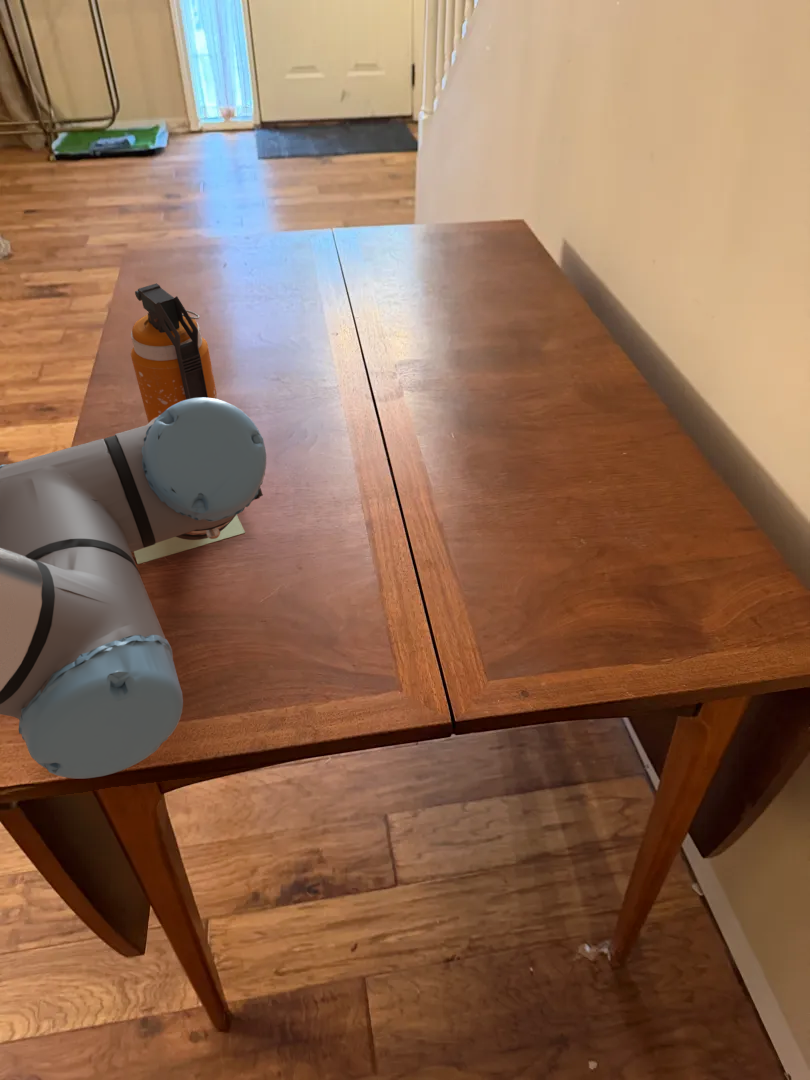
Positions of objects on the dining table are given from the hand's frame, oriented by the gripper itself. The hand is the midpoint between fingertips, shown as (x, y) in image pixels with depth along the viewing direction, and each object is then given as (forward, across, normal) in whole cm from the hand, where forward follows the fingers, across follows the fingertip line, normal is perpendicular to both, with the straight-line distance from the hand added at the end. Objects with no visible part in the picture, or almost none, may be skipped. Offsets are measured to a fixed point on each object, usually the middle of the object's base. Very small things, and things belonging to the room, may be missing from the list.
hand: (182, 521), depth 84 cm
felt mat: (+6, 0, +1) cm, 6 cm away
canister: (+16, +5, +11) cm, 20 cm away
